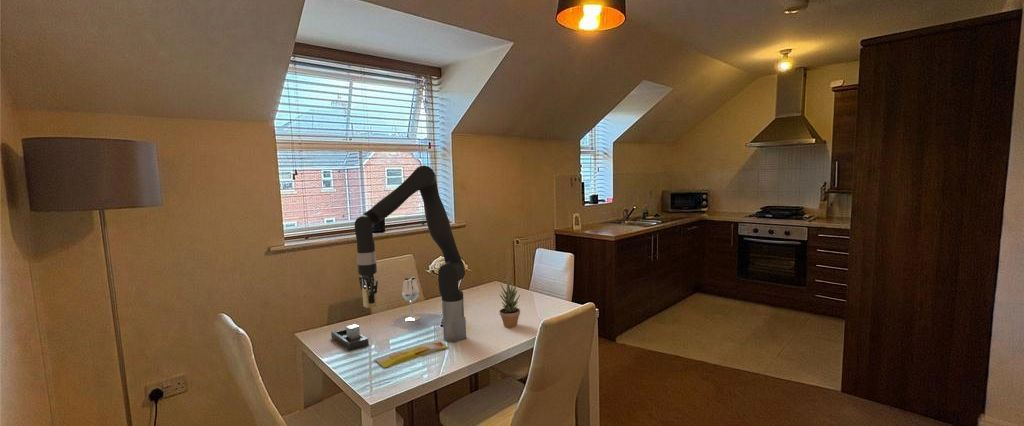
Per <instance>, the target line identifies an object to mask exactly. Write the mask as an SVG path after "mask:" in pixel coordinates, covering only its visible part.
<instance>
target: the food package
mask: <svg viewBox="0 0 1024 426" xmlns="http://www.w3.org/2000/svg"><path fill="white" fill-rule="evenodd" d="M448 348H449V346H447V345H446V344H445V343H443V342H441V341H440V340H430V341H427V342H423V343H420V344H417V345H413V346H410V347H406V348H403V349H399V350H395V351H393V352H390V353H388V354H387V353H386V354H384V355H381V356H379V357H377V358H374V361H376V363H377V364H379V365H380V366H381V367H382V368H383V369H384V368H389V367H391V366H395V365H399V364H401V363H403V362H407V361H410V360H412V359H413V360H414V359H416V358H419V357H422V356H425V355H428V354H432V353H436V352H438V351H442V350H445V349H448Z"/></svg>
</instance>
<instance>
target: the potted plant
mask: <svg viewBox="0 0 1024 426" xmlns="http://www.w3.org/2000/svg"><path fill="white" fill-rule="evenodd" d="M505 276H506V277H505V281H506V290H505V289H504V287H503V284H500V287H501V289H502V290H501V291H500V292H501V294H502V295H501V294H499V296H500V298H501V299H502V301H501V303H502V307H503V308H500V310H499V312H498V313H499V316H500V317H501V320H502V323H503V327H504V328H507V329H513V328H516V327H517V326H518V322H519V318H520V317H519V316H520V315H521V309H520V308H518V306H519V305H517V304H518V303H519V301H518V300H519V298H520V296H521V294H519V295H518V297H517V298H516V296H517V294H518V290H517V284H515V286H514V285H513V284H514V283H513V281H512V283H511V287H510V280H509V275H508V274H507V273H506V274H505ZM515 298H516V299H515Z"/></svg>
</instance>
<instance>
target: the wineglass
mask: <svg viewBox="0 0 1024 426" xmlns="http://www.w3.org/2000/svg"><path fill="white" fill-rule="evenodd" d="M419 295H420V291H419V285H418V281H417V278H416V277H406V278H404V279H403V285H402V297H403V298H404V300H405V301H406V302H408V303H409V304H410V316H406V317H405V318H404V321H405V322H414V321H418V320H420V318H421V316H420V315H414V313H413V302H415V301H416V300H417V299H418V298H419Z"/></svg>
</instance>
